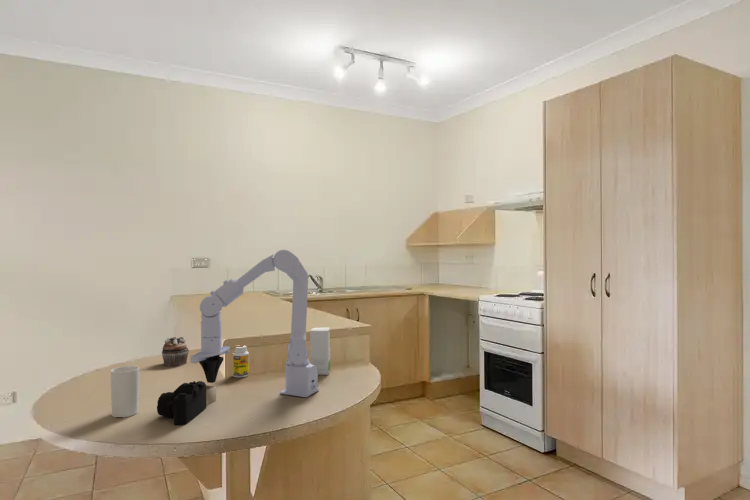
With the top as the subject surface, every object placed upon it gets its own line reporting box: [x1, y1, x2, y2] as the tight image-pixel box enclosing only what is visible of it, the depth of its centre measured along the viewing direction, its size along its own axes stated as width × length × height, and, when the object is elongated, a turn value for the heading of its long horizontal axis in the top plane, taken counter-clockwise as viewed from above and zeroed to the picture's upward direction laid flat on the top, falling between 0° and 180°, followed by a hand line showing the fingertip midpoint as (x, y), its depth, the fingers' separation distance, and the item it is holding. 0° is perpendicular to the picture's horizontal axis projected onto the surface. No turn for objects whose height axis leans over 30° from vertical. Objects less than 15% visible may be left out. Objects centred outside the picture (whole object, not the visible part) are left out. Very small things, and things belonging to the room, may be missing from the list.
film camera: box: [156, 380, 208, 427], centre depth 125 cm, size 15×10×9 cm, turn 176°
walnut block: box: [206, 384, 217, 405], centre depth 137 cm, size 5×4×7 cm
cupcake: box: [161, 336, 190, 367], centre depth 181 cm, size 10×10×10 cm
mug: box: [110, 365, 140, 418], centre depth 128 cm, size 10×7×12 cm, turn 11°
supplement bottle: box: [231, 345, 250, 379], centre depth 164 cm, size 6×6×10 cm
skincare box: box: [309, 326, 331, 376], centre depth 169 cm, size 8×7×16 cm
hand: (211, 382), depth 141 cm, fingers closed
